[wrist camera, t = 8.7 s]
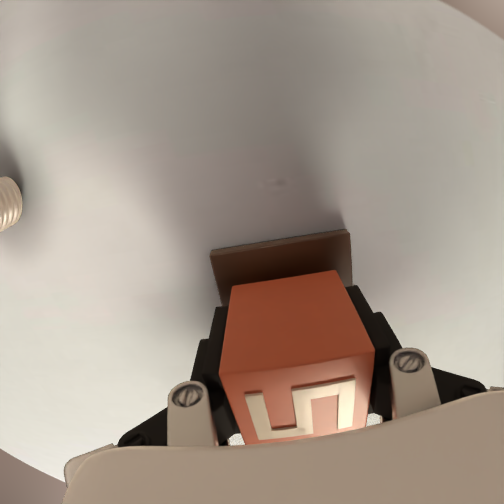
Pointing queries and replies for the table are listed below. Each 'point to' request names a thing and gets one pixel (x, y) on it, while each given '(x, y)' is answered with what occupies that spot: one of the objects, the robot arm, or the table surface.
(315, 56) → the table surface
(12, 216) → the lightbulb
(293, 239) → the word
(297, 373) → the tile
